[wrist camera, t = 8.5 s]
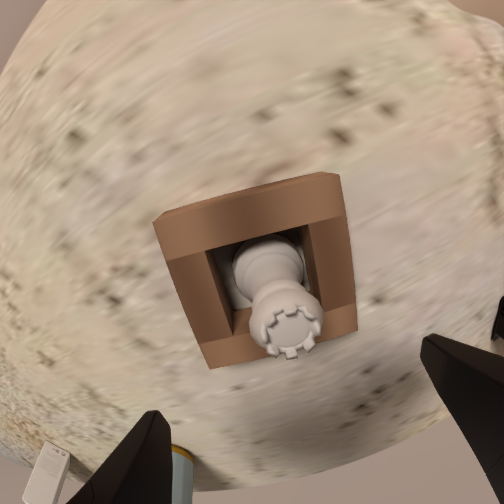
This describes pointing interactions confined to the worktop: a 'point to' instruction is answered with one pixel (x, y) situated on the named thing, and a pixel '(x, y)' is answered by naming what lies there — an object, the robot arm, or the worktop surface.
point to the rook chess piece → (277, 295)
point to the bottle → (182, 476)
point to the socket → (250, 226)
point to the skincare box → (47, 476)
